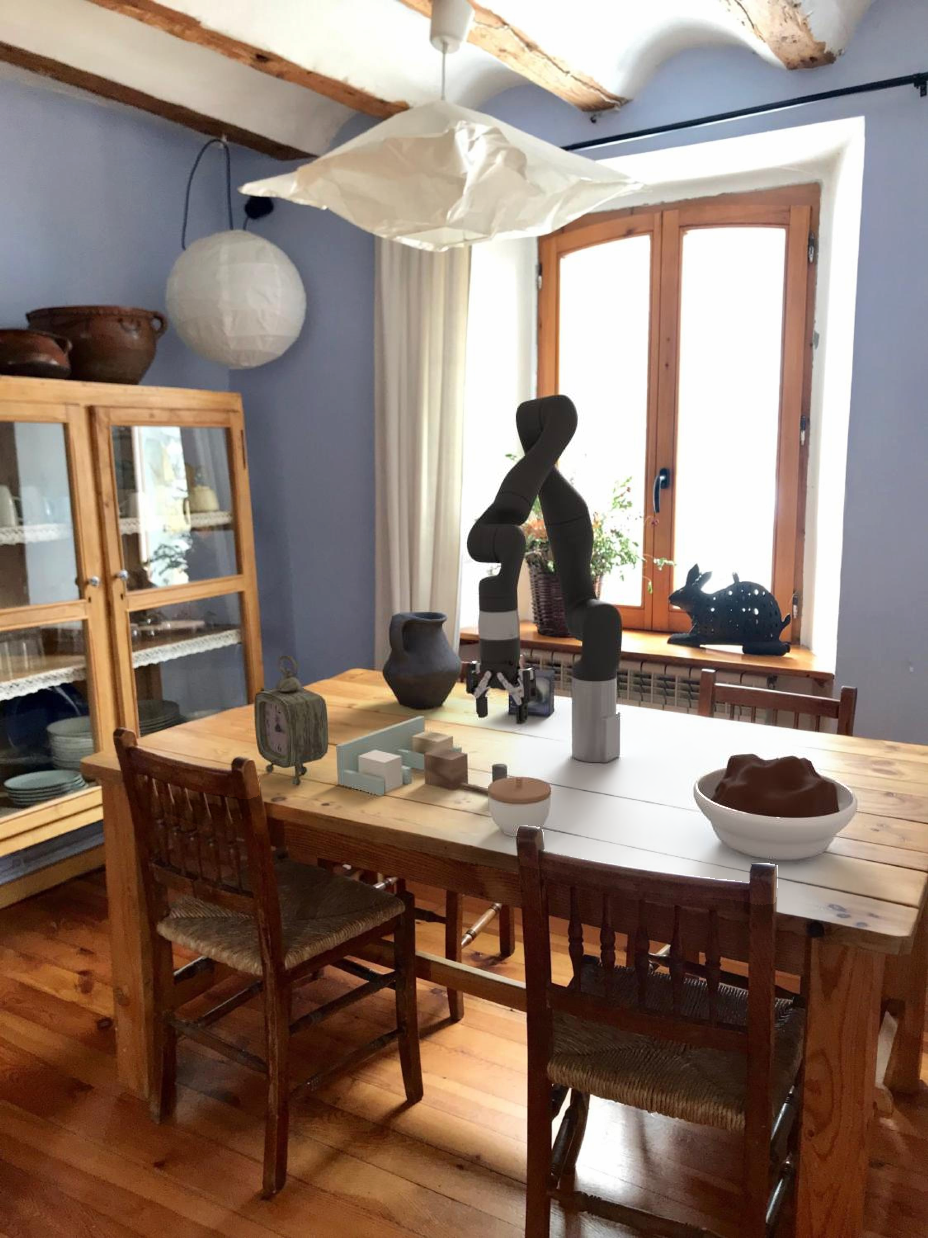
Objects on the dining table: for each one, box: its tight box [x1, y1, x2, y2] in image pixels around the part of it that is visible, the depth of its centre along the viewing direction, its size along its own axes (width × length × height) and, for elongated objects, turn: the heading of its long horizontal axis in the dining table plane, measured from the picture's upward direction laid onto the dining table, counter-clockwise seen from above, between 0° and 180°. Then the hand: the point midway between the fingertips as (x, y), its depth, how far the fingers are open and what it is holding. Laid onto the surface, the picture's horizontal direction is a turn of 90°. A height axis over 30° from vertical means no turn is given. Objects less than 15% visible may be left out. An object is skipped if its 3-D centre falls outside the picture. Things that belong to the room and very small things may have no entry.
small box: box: [507, 668, 555, 718], centre depth 236 cm, size 11×6×10 cm, turn 73°
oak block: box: [412, 730, 454, 754], centre depth 199 cm, size 7×5×6 cm
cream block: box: [358, 750, 403, 793], centre depth 187 cm, size 7×5×6 cm
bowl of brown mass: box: [692, 753, 858, 861], centre depth 154 cm, size 25×25×15 cm
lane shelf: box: [335, 715, 463, 797], centre depth 194 cm, size 11×25×8 cm, turn 142°
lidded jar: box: [487, 776, 552, 838], centre depth 163 cm, size 11×11×9 cm
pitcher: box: [382, 611, 463, 711], centre depth 243 cm, size 21×22×25 cm
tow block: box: [423, 748, 508, 796], centre depth 184 cm, size 18×5×6 cm, turn 52°
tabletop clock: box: [253, 654, 329, 786], centre depth 191 cm, size 14×9×25 cm, turn 40°
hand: (501, 720), depth 177 cm, fingers open, 8 cm apart
